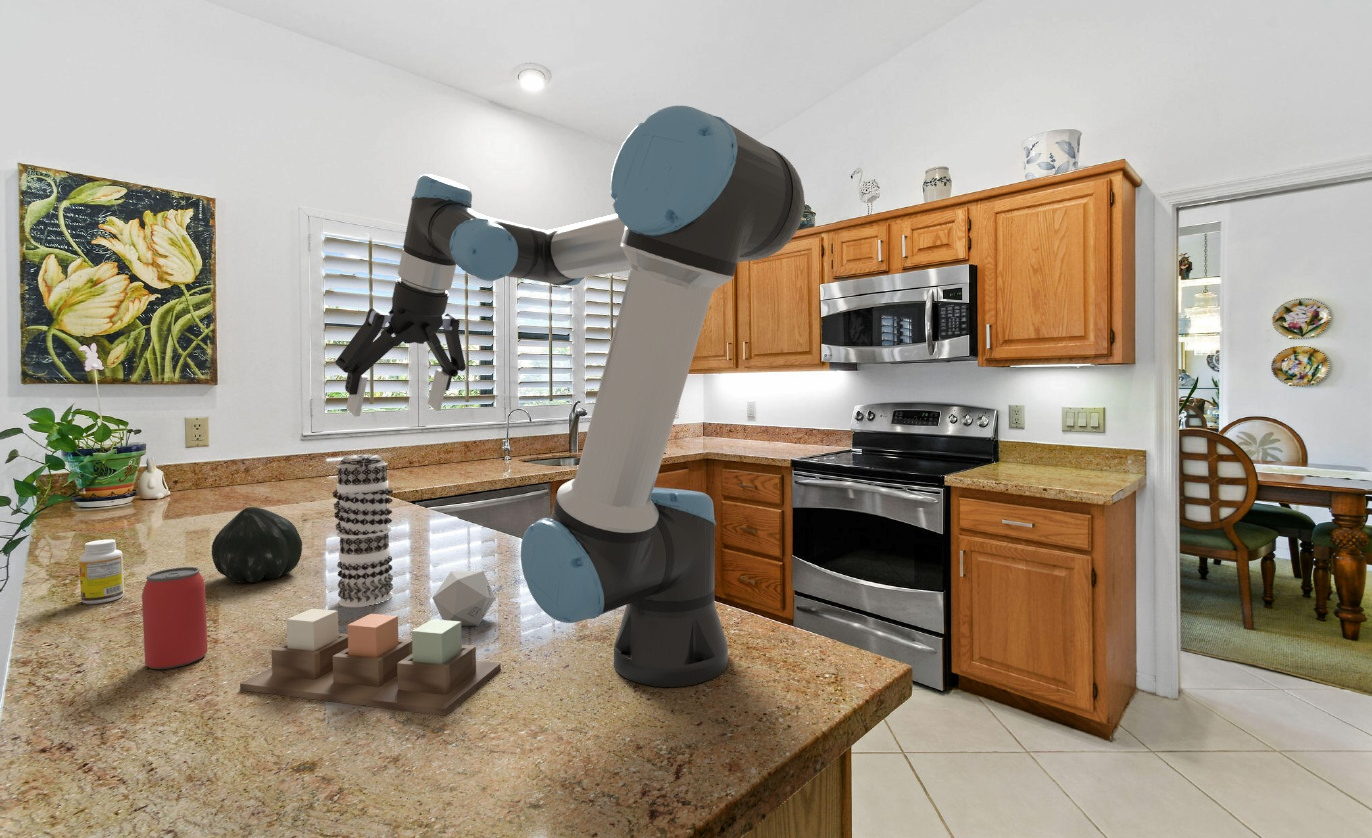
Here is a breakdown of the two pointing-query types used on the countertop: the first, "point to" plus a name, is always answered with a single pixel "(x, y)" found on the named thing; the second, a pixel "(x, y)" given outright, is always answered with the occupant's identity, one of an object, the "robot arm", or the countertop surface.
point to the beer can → (174, 618)
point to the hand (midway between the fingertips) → (395, 409)
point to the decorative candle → (363, 531)
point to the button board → (373, 677)
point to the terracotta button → (373, 635)
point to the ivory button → (312, 629)
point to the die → (464, 597)
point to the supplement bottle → (101, 572)
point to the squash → (256, 546)
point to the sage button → (436, 641)
